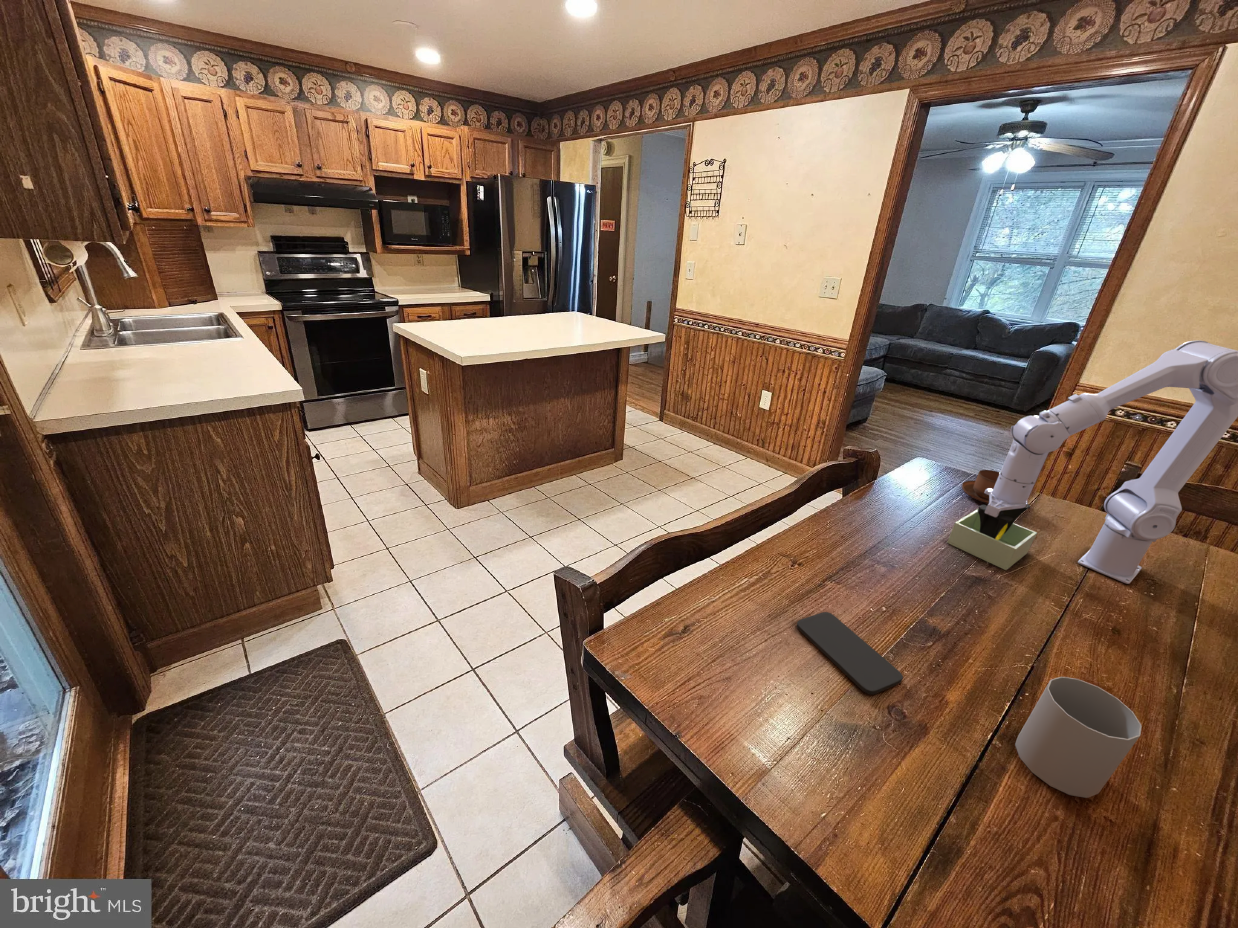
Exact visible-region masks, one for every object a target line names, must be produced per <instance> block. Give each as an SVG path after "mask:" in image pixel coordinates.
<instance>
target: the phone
mask: <svg viewBox="0 0 1238 928" xmlns="http://www.w3.org/2000/svg"><path fill="white" fill-rule="evenodd" d="M796 628H797V630H798V631H799V632H800V633H801V634H802V635H803V636H805V638H807V639H808V641H810V642H811V643H812V644H813V645H814V646H815V647H816V648H817V649H818V650H819V651H820V652H821V653H822V654H823V655H824V656H825V657H826V658H827V659H829V661H831V662H832V663H833V664H834V665H835V666H836V667H837V668H838V669H839V670H840V671H841V672H842V673H843V674H844V675H845V676H846V677H847V678H848V679H849V680H850V681H851V682H852V683H853V684H855V686H857V687H858V689H860V690H861V691H862V692H864V693H865V694H867V695H876V694H879V693H881V692H883V691H885V690H887V689H890V688H893V687H895V686H897V685H899V684H901V683H902V682H903V679H904V676H903V674H902V673H901V671H900V670H898V669H897V668H896V667H895V666H894V665H892V664H891V662H889V661H888V660H887V659H886V658H884V657H883V656H882V655H881V654H879V652H878V651H876V650H875V649H874V648H873V647H872V646H871V645H869V644H868V643H867V642H866V641H865V640H863V639H862V638H861V637H860V636H858V635H857V634H856V633H855V632H854V631H853V630H851V628H849V626H847V625H846V624H845V623H844V622H842V621H841V620H840V619H839V618H838V617H837V616H835V614H832V613H831V612H828V611H823V612H820V613H819V612H818V613H816V614H814V615H811V616H807V617H805V618H801V619H799V620H798V621H797V622H796Z"/></svg>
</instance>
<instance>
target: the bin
mask: <svg viewBox="0 0 1238 928" xmlns="http://www.w3.org/2000/svg"><path fill="white" fill-rule="evenodd" d="M1037 534H1038V532H1036V531H1034V530H1032V529H1030V528H1027V527H1024V526H1022V525H1019V524H1017V523H1015V522H1014V523H1013V524H1012V525H1011V527H1010V528H1009V529H1008V531H1007V532H1006V533H1005V534H1003V535H1002V537H1001V538H1000V539H999V540H996V539H994V538H992V537H989V536H987V535H985V534H982V533H980V516H979V513H978V508H977V509H975V510H974V511H972V512H969V514H967V515H965V516H963V517H961V518H960V519H958V520H957V521H955V522H954V523H953V527H952V528H951V531H950V533H949V537H948V539H947V541H946V543H947V544H949V545H951V546H953V547H955V548H957V549H960V550H962V551H964V552H966V553H968V554H970V555H972V556H974V557H976V558H978V559H980V560H983V561H985V562H987V563H989V564H991V565H994V566H996V567H998V568H1001V569H1002V570H1004V571H1007V570H1009V569H1010V568H1011V567H1012V566H1013V565H1014V564H1016V563H1018V561H1020V560H1021V559H1022V558H1023V557H1024V556H1026V555H1027V554H1028V553H1029V552H1030V551H1029V550H1030V549H1031V547H1032V544H1033V542H1034V540H1035V539H1036V537H1037Z"/></svg>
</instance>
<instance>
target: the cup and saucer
mask: <svg viewBox="0 0 1238 928" xmlns="http://www.w3.org/2000/svg"><path fill="white" fill-rule="evenodd" d="M1000 472H1001V471H997V470H992V469H981V470H979V471H978V473H977V476H976V479H975V480H966V481H964V482H962V483H961V488H962V491H963V492H964V493H965V494H966V495H968V496H969V497H970V498H972V499H974V500H976V501H979V502H980V503H983V504H985V505H986V504H987V505H988V504H989V495H988V494H985V493H984V492H985V490H986V489H988V488H991V489H994V486H995V484H996V481H997V479H998V476H999V474H1000Z"/></svg>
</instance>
